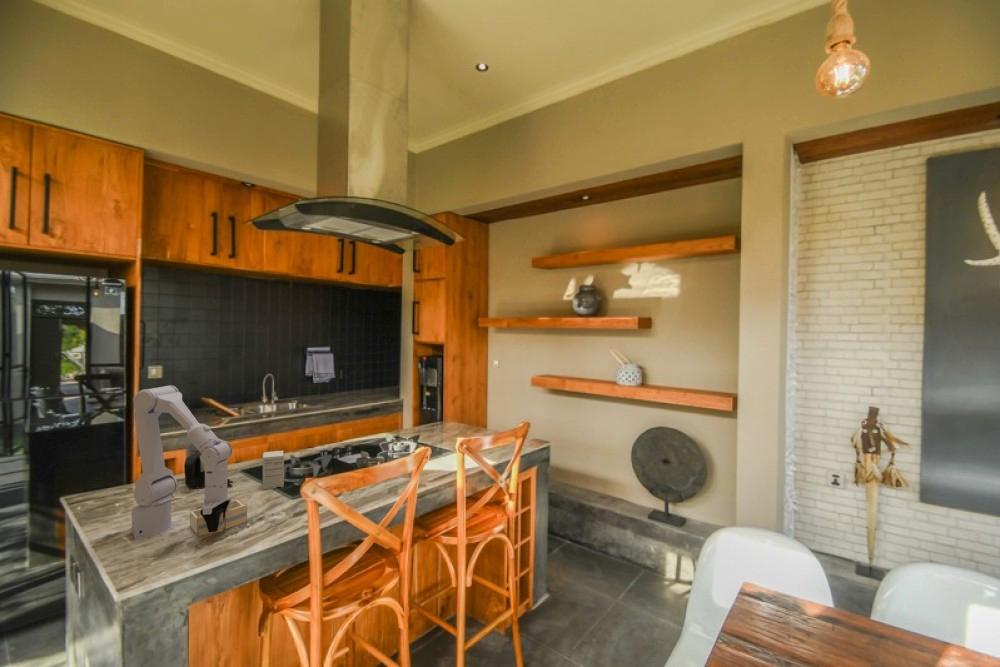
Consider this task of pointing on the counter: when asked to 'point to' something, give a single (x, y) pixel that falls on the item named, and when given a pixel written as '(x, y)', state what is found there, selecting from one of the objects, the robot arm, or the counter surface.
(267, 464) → the supplement box
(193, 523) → the carton
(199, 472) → the milk frother
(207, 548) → the counter surface
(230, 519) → the flap right
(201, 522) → the flap left
